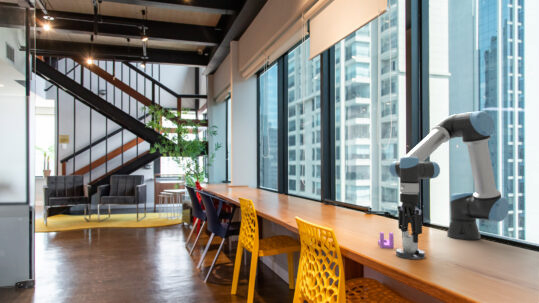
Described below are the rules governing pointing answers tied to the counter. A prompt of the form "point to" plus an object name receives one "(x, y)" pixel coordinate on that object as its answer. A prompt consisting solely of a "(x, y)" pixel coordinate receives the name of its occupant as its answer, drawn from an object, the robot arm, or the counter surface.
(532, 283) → the counter surface
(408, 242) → the grey cylinder
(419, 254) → the barrel ring
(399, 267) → the counter surface
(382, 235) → the bracket
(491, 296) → the counter surface
